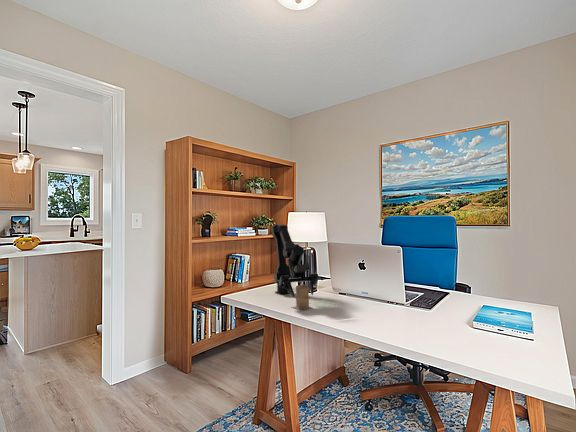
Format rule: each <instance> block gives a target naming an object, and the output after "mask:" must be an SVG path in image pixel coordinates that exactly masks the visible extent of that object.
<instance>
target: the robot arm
mask: <svg viewBox="0 0 576 432" xmlns="http://www.w3.org/2000/svg"><path fill="white" fill-rule="evenodd" d="M270 232H271V233H272V238H274V240H275V247H276V256H277V266H276V268H275V272H274V273H275V274H274V277H273V282H274V283H275V284H276V289H277V290H276V291H274V293H276V294H278V295H286V294H290V295H291V296H292V297H295V292H294V289H293V286H292V283H301V282H307V284H308V287H309V291H310V294H311V295H312V296H313V295H314V286H315V285H316V284H317V283H318V280H319V278H320V276H319V274H318V273H316V272H315V273H309V274H308V276H306V272H307V271H309V270H310V268H311V267H310V264H309V262H306V263H304V264H301V261H302V259H303V256H304V254H305V249H304V247H302V246H300V245H299V244H295V243H294V242H293V240H292V238H291V235H290V233H289V228H288V225H287V224H273V225H272V226H271V227H270Z"/></svg>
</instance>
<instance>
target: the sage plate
mask: <svg viewBox="0 0 576 432" xmlns="http://www.w3.org/2000/svg"><path fill="white" fill-rule="evenodd" d="M309 305H312V306H314V307H317V308H321V309H322V308H326V307H330V306H337V303H335V302H332V301H329V300H326V299H321V300H316V301H311V302H309Z"/></svg>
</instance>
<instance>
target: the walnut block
mask: <svg viewBox="0 0 576 432" xmlns="http://www.w3.org/2000/svg"><path fill="white" fill-rule="evenodd" d="M309 291H310V289H309V286H307V285H306V284H301V285H296V286H295V300H296V301H295V303H296V304H295V306H296V307H297V308H298V309H299V310H302V309H309V307H310V304H309V303H310V302H309V301H310V296H309V295H310V293H309Z"/></svg>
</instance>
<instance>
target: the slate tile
mask: <svg viewBox="0 0 576 432" xmlns="http://www.w3.org/2000/svg"><path fill="white" fill-rule="evenodd" d="M290 308H291V309H293V310H295V311H298V312H304V311H305V312H306V311H308V310H315V308H314V307H313V306H309V309H302V310H299V309H298V308H297V307H296V305H295V306H292V307H290Z"/></svg>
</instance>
